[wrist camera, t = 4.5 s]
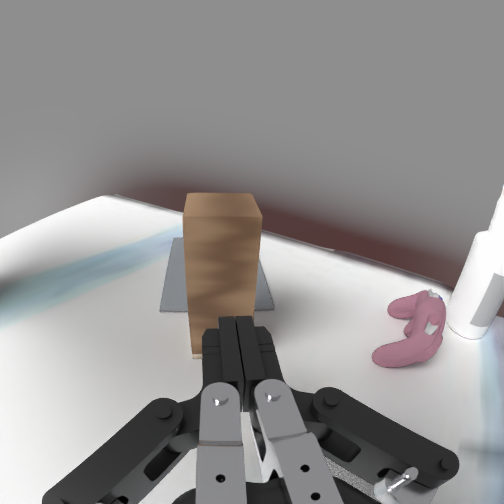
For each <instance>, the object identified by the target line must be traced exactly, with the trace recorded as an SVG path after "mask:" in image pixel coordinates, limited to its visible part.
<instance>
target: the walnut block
mask: <svg viewBox="0 0 504 504" xmlns="http://www.w3.org/2000/svg"><path fill="white" fill-rule="evenodd" d="M261 227H262V215H261V213H260V211H259V208H258V207H257V204H256V202H255V200H254V198H253V196H252V194H251V193H250V194H249V193H188V194H187V199H186V204H185V208H184V213H183V239H184V259H185V276H186V291H187V304H188V316H189V327H190V337H191V347H192V356H193V359H202V336H203V334H204V332H205V330H206V329H210V328H218V317H224V316H234V318H235V316H252V318H253V317H254V306H255V295H256V284H257V273H258V262H259V250H260V239H261Z"/></svg>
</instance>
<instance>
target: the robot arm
mask: <svg viewBox="0 0 504 504" xmlns="http://www.w3.org/2000/svg"><path fill="white" fill-rule="evenodd" d="M202 368H203V387H202V389H201V391H200V393H199V394H198V395H197V396H195V397H194V398H192V399H190V400H187V401H183V402H180V403H177V402H176V401H174V400H172V399H169V398H159V399H155V400H153V401H152V402H150V403H149V404H148V405H147V406H146V407H145V408H144V409H143V410H141V411H140V412H139V413H138V414H137V415H136V416H135V417H134V418H133V419H131V420H130V421H129V422H128V423H127V424H126V425H125V426H124V427H123V428H121V429H120V430H119V431H118V432H117V433H116V434H115V435H114V436H112V437H111V438H110V439H109V440H108V441H107V442H106V443H104V444H103V445H102V446H101V447H100V448H99V449H98V450H96V451H95V452H94V453H93V454H92V455H91V456H89V457H88V458H87V459H86V460H85V461H84V462H82V463H81V464H80V465H79V466H78V467H76V468H75V469H74V470H73V471H72V472H70V473H69V474H68V475H67V476H66V477H64V478H63V479H62V480H61V481H59V482H58V483H57V484H56V485H55V486H53V487H52V488H51V489H50V490H48V491H47V492H46V493H45V494H44V496H43V498H42V504H138V503H139V502H140V501H141V500H142V499H143V498H144V497H145V496H146V495H147V494H148V493H149V492H150V491H151V490H152V489H153V488H154V487H155V486H156V485H157V484H158V483H159V482H160V481H161V480H162V479H163V478H164V477H165V476H166V475H167V474H168V473H169V472H170V471H171V470H172V469H173V468H174V467H175V466H176V465H177V463H178V462H179V461H180V460H181V459H182V458H183V457H184V456H185V455H186V454H187V453H188V451H189V450H191V449H194V448H197V465H196V488H194V489H191V490H189V491H187V492H185V493H184V494H182V495H181V496H179V497H178V498H177V499H176V500H175V501H174V502H173V503H172V504H381V503H379V502H378V501H376V500H374V499H372V498H371V497H369V496H367V495H366V494H364V493H362V492H361V491H359V490H358V489H356V488H354V487H353V486H351V485H350V484H348V483H346V482H345V481H343V480H341V479H339V478H337V477H334V476H332V475H331V472H330V470H329V467H328V465H327V463H326V460H325V458H324V456H325V457H327V458H328V459H330V460H332V461H333V462H335V463H336V464H338V465H340V466H341V467H343V468H345V469H346V470H348V471H350V472H351V473H353V474H355V475H356V476H358V477H360V478H362V479H363V480H365V481H367V482H369V483H371V484H372V485H374V494H375V497H376V498H377V499H378V500H379V501H381V502H382V503H383V504H430V503H431V501H432V499H433V497H434V495H435V493H436V491H437V489H438V487H439V486H440V485H442V484H443V483H445V482H447V481H448V480H450V479H451V478H453V477H454V476H455V475H456V474H457V472H458V469H459V460H458V457H457V456H456V454H455V453H454V452H452V451H450V450H448V449H446V448H444V447H442V446H440V445H438V444H436V443H434V442H432V441H430V440H428V439H426V438H424V437H422V436H420V435H418V434H416V433H415V432H413V431H411V430H409V429H407V428H405V427H403V426H401V425H400V424H398V423H396V422H394V421H392V420H391V419H389V418H387V417H385V416H383V415H382V414H380V413H378V412H376V411H375V410H373V409H371V408H369V407H368V406H366V405H364V404H362V403H361V402H359V401H357V400H356V399H354V398H352V397H351V396H349V395H347V394H346V393H344V392H342V391H341V390H339V389H336V388H333V387H325V388H322V389H320V390H318V391H317V392H316V393H315V394H313V393H305V392H299V391H296V390H294V389H292V388H290V387H289V386H288V385H287V384H286V383H285V381H284V379H283V376H282V373H281V369H280V366H279V362H278V358H277V355H276V352H275V347H274V345H273V340H272V337H271V334H270V333H269V331H268V330H267V329H266V328H265V327H264V326H261V327H254V322H253V318H252V316H235V318H234V316H224V317H218V328H210V329H206V330H205V332H204V334H203V336H202ZM242 407H243V412H249V413H250V419H251V421H250V429H251V433H252V437H253V440H254V444H255V448H256V451H257V455H258V459H259V462H260V468H261V477H262V481H263V483H252V482H245V467H244V451H243V443H242V436H241V417H240V412H242Z"/></svg>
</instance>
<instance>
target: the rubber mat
mask: <svg viewBox="0 0 504 504" xmlns="http://www.w3.org/2000/svg"><path fill="white" fill-rule="evenodd" d="M270 309H274V305H273V302H272V299H271V296H270V293H269V289H268V286H267V283H266V280H265V277H264V274H263V271H262V268H261V264H260V261H259V262H258V273H257V284H256V295H255V306H254V310H270ZM160 312H188V304H187V291H186V276H185V259H184V239H183V238H174V239H173V243H172V248H171V253H170V257H169V262H168V267H167V272H166V277H165V282H164V288H163V293H162V299H161V304H160Z"/></svg>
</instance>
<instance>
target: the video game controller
mask: <svg viewBox="0 0 504 504" xmlns="http://www.w3.org/2000/svg"><path fill="white" fill-rule="evenodd" d="M442 300H443V299H442V298H441V297H440V296H439V295H438V294H437V293H432V290H431V289H430V290H429V291H426V290H424V291H421V292H419V293H416V294H414V295H411V296H407V297H403V298H399V299H396V300H394V301H393V302H391V303H390V304H389V306H388V309H387V311H388V313H389V315H390V316H392V317H395V318H402V319H407V318H412V320H411V321H410V322H409V323H408V324H407V325H406V327H405V329H404V333H405V334H406V335H407V336H408V338H407V339H404V340H401V341H398V342H394V343H390V344H386V345H383V346H381V347H379V348H377V349H376V350H375V351H374V352H373V354H372V359H373V361H374V363H376V364H378V365H380V366H383V367H402V366H406V365H410V364H413V363H416V362H424V361H426V360H428V359H429V358H431V357H432V356H433V355H434V354H435V353H436V352H437V350H438V349H439V347H440V345H441V343H442V340H443V336H442V332H443V329H444V325H445V321H446V307H445V304H444V302H443V301H442Z"/></svg>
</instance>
